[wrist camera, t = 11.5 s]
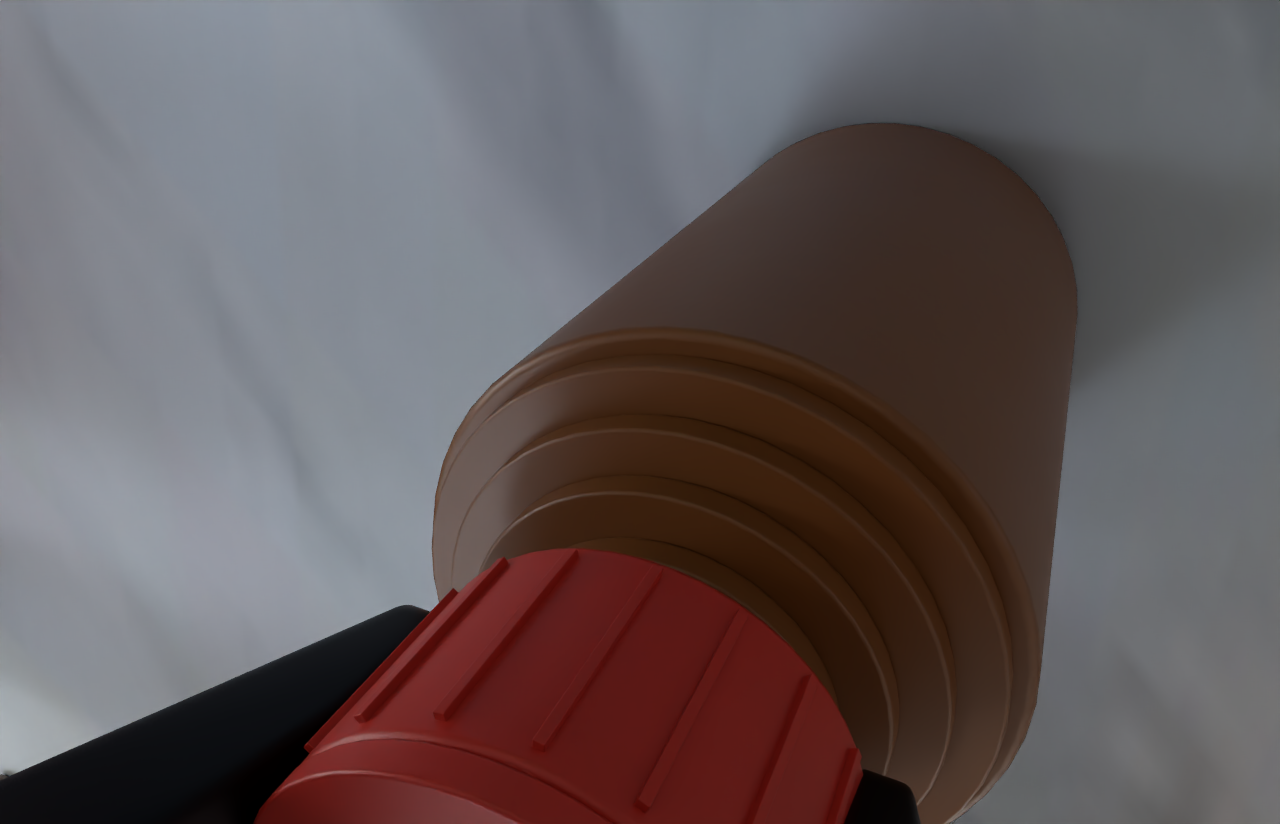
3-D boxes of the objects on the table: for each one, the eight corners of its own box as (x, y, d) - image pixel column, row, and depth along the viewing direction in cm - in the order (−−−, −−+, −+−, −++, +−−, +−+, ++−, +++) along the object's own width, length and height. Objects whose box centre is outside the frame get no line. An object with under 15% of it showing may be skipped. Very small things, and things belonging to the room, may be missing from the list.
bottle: (1069, 484, 16) (992, 1351, 7) (722, 457, 19) (304, 1069, 9) (1087, 108, 14) (1008, 635, 4) (685, 133, 16) (60, 507, 7)
